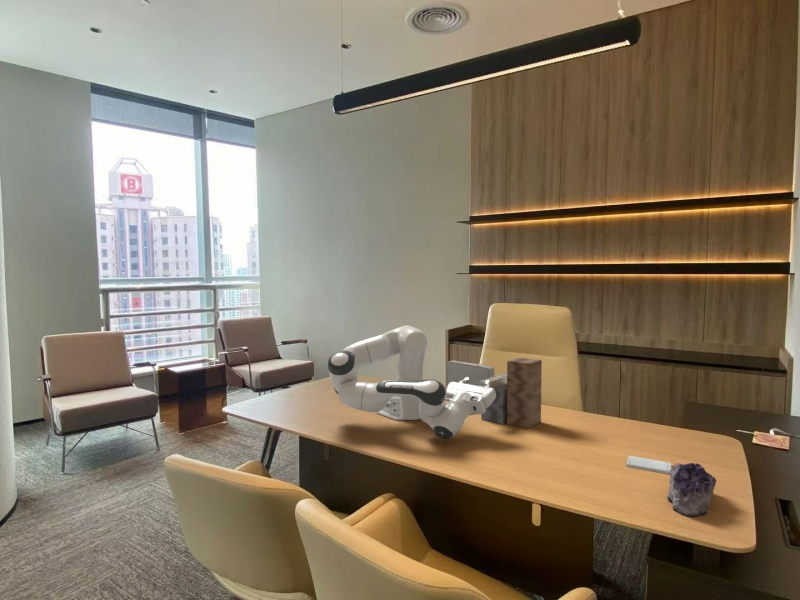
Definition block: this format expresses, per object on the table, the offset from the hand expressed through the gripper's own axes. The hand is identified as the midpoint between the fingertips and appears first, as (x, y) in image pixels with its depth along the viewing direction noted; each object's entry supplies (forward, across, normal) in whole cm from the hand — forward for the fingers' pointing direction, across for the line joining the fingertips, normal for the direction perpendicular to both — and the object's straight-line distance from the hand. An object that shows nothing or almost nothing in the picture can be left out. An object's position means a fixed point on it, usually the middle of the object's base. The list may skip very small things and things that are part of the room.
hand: (478, 380), depth 188 cm
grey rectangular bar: (+10, 0, -12) cm, 16 cm away
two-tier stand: (+6, +6, -26) cm, 27 cm away
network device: (+13, -20, -30) cm, 39 cm away
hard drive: (-9, +61, -18) cm, 65 cm away
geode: (-26, +76, -8) cm, 80 cm away
